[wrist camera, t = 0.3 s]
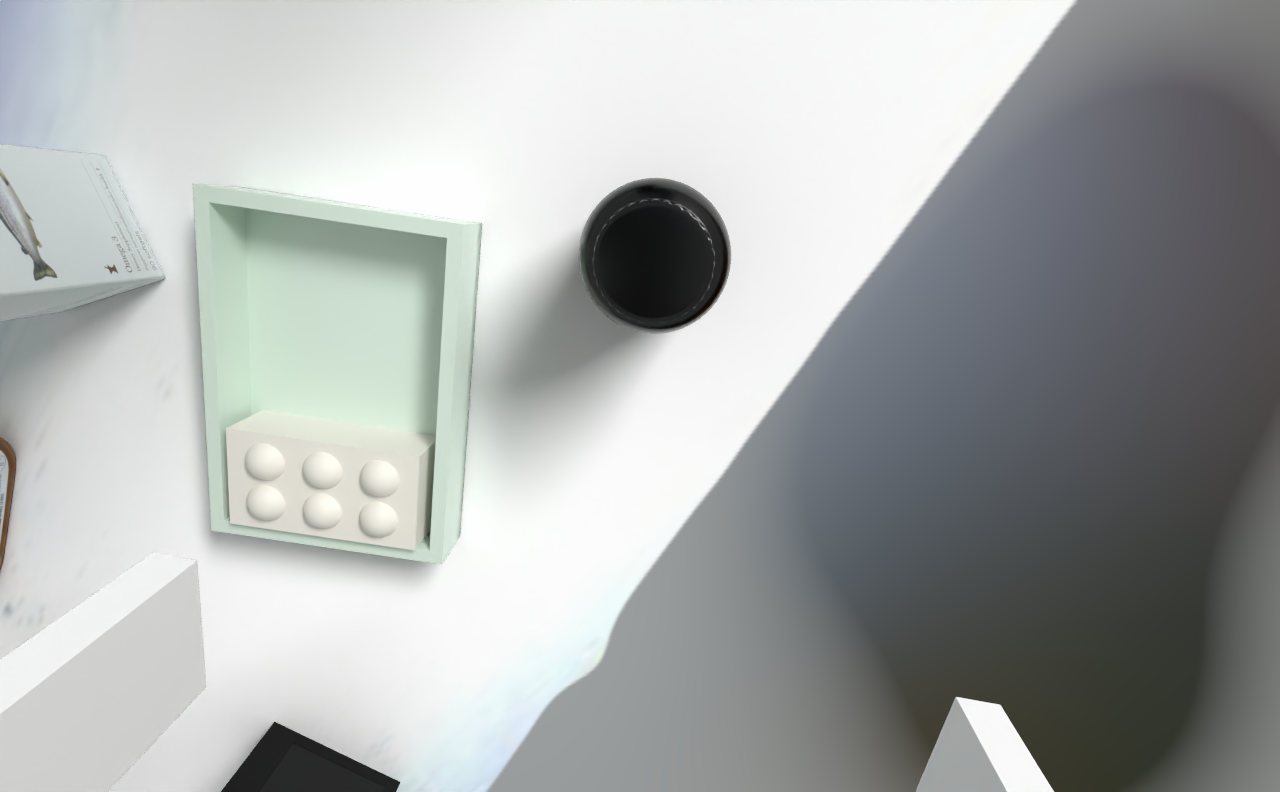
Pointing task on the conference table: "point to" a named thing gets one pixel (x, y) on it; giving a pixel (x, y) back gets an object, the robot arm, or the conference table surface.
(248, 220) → the pale green tray
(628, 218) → the supplement bottle
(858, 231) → the conference table surface
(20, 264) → the supplement box
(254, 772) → the digital camera
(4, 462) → the tin
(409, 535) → the egg carton
